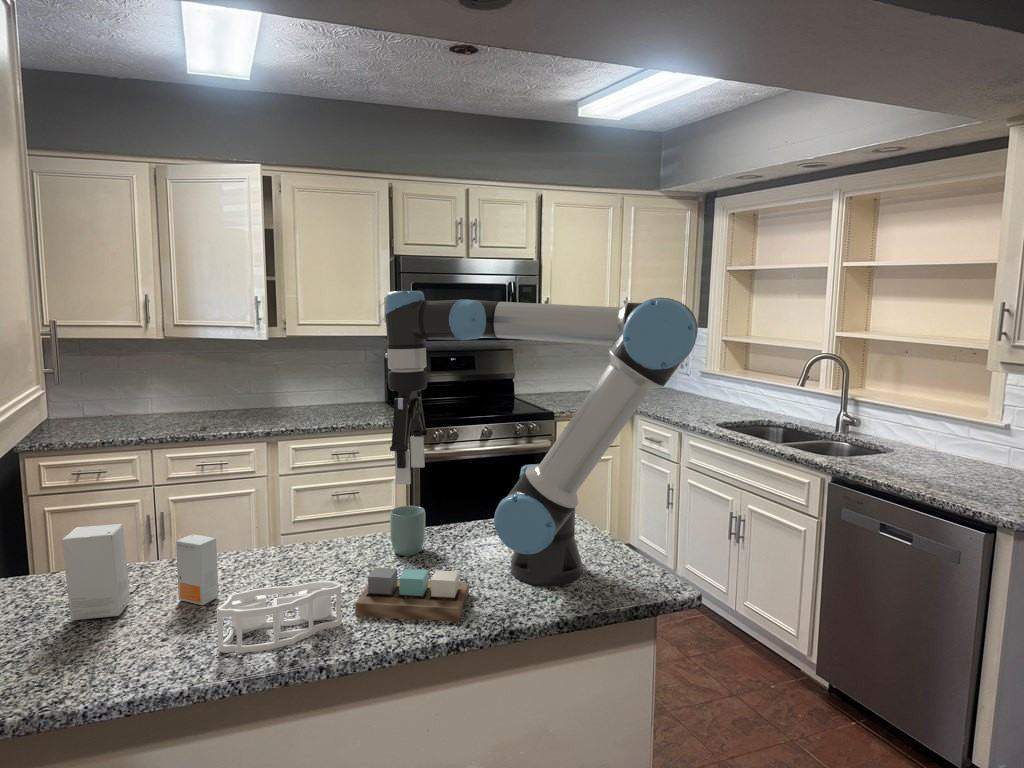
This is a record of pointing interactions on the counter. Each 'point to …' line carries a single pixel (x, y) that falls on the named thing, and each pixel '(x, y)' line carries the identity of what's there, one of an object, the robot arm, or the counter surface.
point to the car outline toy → (278, 614)
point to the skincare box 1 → (96, 571)
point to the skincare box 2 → (197, 569)
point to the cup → (407, 529)
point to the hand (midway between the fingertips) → (411, 475)
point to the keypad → (412, 605)
